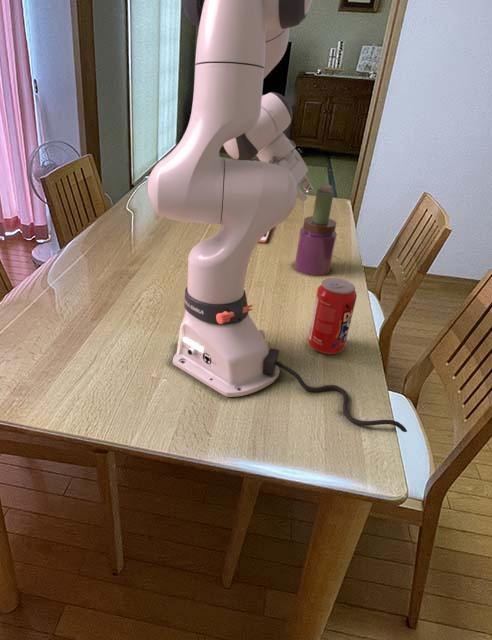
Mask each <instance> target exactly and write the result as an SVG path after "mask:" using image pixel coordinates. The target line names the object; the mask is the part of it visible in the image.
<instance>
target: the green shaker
mask: <svg viewBox="0 0 492 640" xmlns="http://www.w3.org/2000/svg"><path fill="white" fill-rule="evenodd" d="M334 193H335V191H334V190H333V186H332V185H330V184H320V186H319V188H317V189H316V194H315V200H314V206H313V212H312V216H313V217H312V221H313V222H314V223H317V224H327V223H328V221H329V218H330V215H331V210H332V204H333V200H334Z"/></svg>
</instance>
